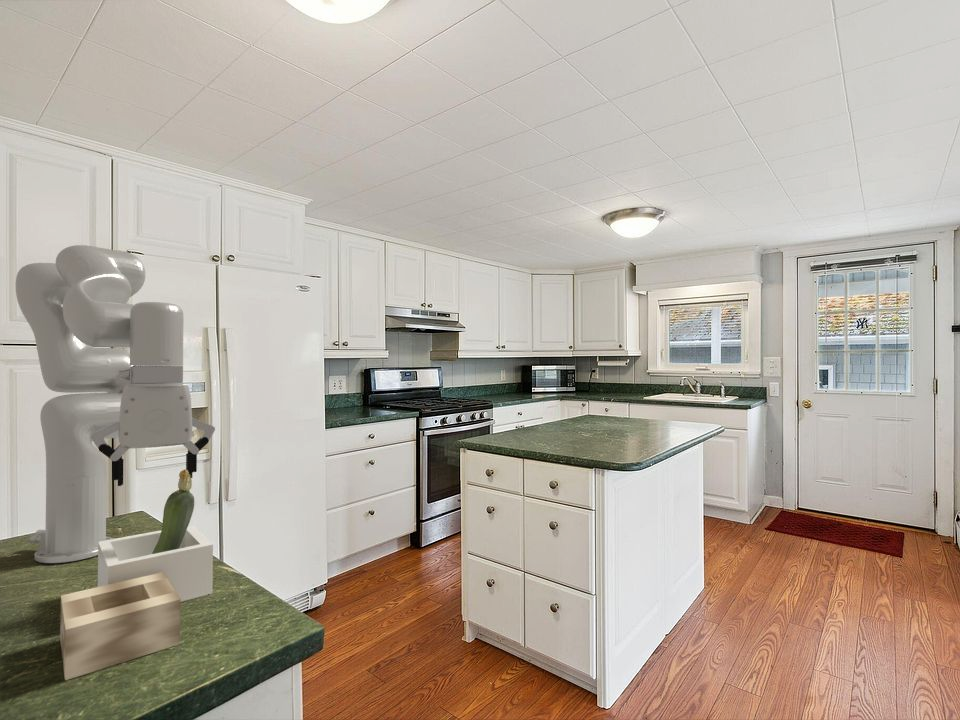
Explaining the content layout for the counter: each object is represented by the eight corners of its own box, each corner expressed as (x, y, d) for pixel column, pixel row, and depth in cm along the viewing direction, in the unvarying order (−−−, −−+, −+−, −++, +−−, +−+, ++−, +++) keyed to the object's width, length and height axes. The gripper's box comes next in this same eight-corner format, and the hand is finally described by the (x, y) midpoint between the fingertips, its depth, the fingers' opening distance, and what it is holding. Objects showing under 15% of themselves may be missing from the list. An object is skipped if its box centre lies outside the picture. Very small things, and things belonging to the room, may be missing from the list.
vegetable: (164, 577, 87) (200, 465, 88) (173, 589, 85) (210, 473, 85) (135, 580, 84) (173, 463, 85) (143, 593, 81) (182, 472, 82)
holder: (65, 680, 60) (65, 629, 60) (60, 639, 69) (60, 595, 69) (180, 644, 68) (180, 599, 68) (162, 611, 77) (163, 572, 77)
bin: (107, 621, 74) (107, 566, 74) (97, 589, 85) (98, 541, 85) (212, 593, 84) (212, 544, 84) (192, 568, 94) (192, 524, 94)
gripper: (90, 378, 77) (88, 492, 76) (218, 377, 86) (217, 478, 86) (92, 377, 83) (91, 483, 83) (212, 376, 93) (211, 470, 92)
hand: (155, 480), depth 84 cm, fingers open, 9 cm apart
